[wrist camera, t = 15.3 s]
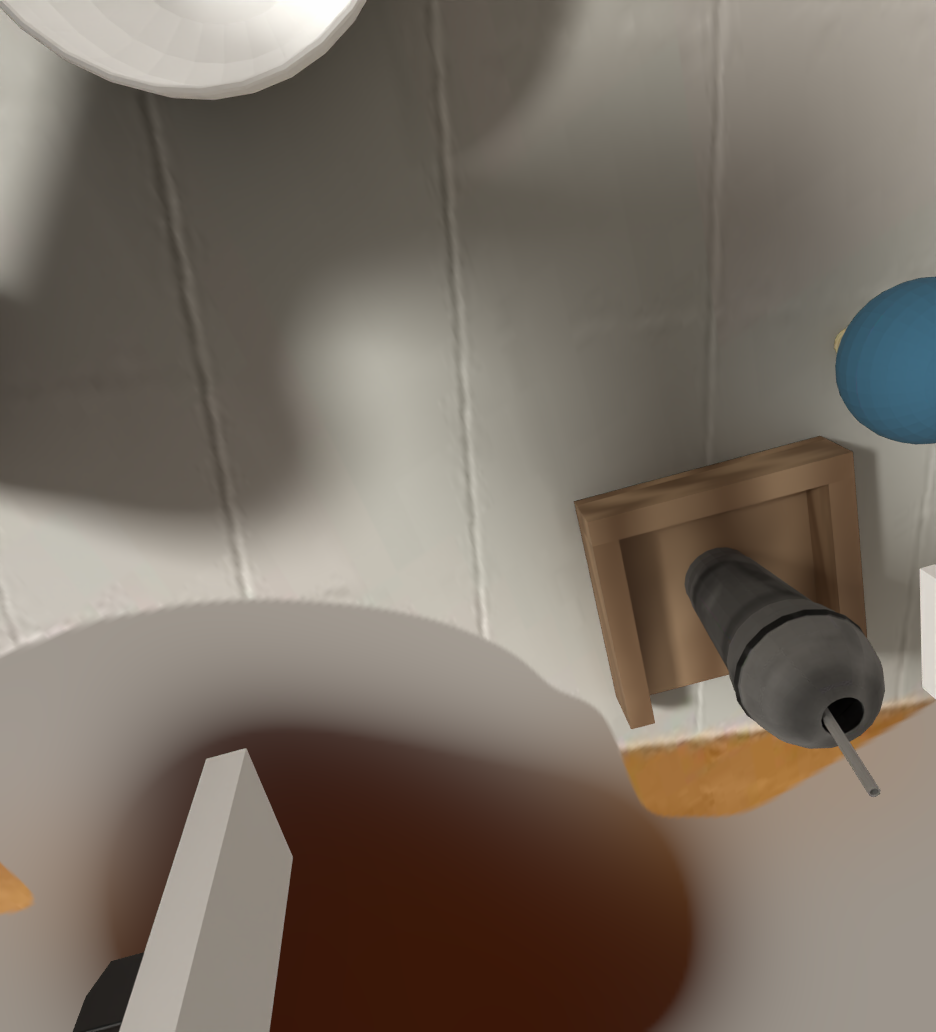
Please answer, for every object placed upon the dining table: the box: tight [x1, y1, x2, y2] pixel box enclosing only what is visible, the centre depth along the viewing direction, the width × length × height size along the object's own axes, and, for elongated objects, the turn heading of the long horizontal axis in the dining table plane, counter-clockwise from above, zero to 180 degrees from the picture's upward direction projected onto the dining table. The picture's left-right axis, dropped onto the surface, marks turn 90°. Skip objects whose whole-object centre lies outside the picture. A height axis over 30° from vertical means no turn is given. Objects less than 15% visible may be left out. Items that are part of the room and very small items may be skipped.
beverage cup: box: [684, 547, 885, 797], centre depth 42 cm, size 7×7×20 cm
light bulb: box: [834, 277, 936, 444], centre depth 41 cm, size 8×8×12 cm
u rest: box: [574, 436, 867, 729], centre depth 50 cm, size 16×15×4 cm
